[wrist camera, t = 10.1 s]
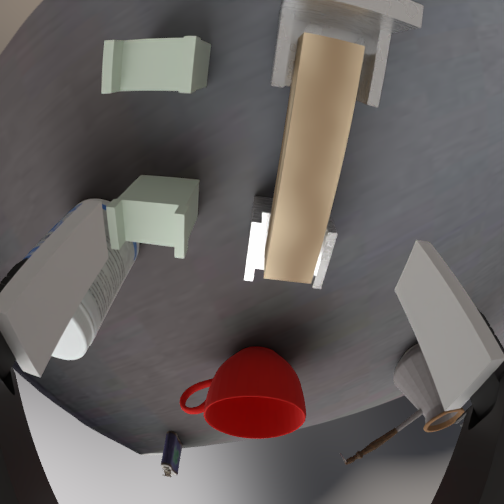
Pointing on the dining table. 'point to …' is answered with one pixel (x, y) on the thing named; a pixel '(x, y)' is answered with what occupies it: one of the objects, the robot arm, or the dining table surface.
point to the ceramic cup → (252, 396)
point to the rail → (311, 154)
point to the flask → (171, 454)
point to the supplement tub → (94, 293)
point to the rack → (146, 186)
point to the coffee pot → (416, 398)
